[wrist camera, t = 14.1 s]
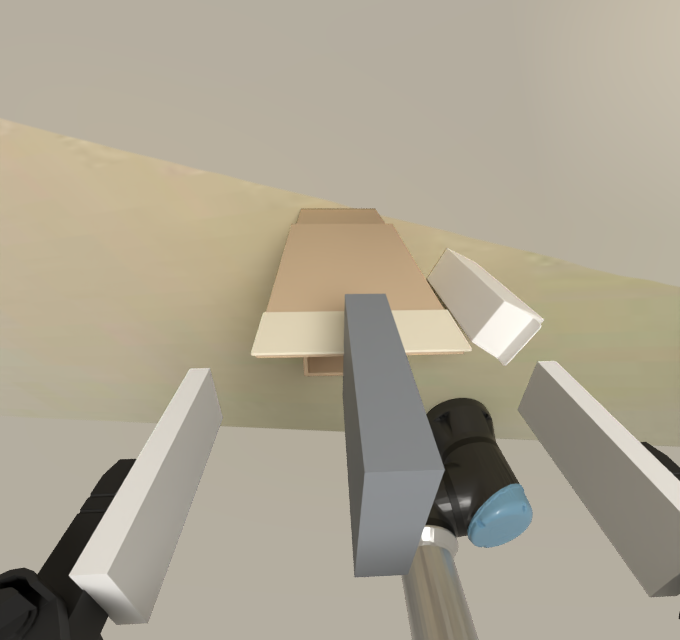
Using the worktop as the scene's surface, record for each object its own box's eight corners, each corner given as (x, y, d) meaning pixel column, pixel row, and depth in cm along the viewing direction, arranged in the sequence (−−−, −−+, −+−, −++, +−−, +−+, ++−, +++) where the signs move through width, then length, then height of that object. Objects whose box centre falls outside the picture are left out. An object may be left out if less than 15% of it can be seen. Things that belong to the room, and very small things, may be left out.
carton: (367, 331, 58) (376, 374, 47) (307, 332, 57) (304, 376, 47) (374, 208, 47) (389, 229, 36) (301, 208, 46) (294, 229, 36)
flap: (535, 568, 12) (633, 462, 8) (221, 583, 11) (161, 479, 7) (390, 253, 38) (396, 193, 34) (292, 254, 37) (288, 192, 34)
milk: (426, 278, 53) (481, 358, 34) (447, 246, 50) (519, 314, 31) (455, 291, 54) (523, 375, 35) (477, 261, 52) (563, 335, 33)
